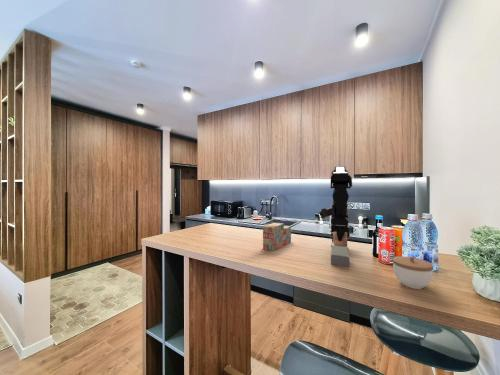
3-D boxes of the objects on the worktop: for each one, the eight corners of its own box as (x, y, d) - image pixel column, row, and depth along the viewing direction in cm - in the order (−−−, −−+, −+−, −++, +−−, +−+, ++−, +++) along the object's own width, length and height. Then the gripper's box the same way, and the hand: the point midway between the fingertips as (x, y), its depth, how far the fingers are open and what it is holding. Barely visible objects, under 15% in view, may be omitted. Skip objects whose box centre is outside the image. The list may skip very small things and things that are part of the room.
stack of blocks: (281, 240, 127) (281, 220, 127) (291, 242, 123) (291, 221, 123) (262, 249, 110) (262, 225, 109) (273, 251, 106) (273, 227, 106)
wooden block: (341, 242, 93) (341, 231, 93) (350, 245, 88) (349, 233, 88) (330, 243, 92) (330, 231, 92) (338, 246, 87) (338, 234, 87)
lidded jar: (407, 292, 65) (408, 262, 65) (385, 277, 76) (385, 251, 76) (442, 292, 65) (442, 262, 65) (415, 277, 76) (415, 251, 76)
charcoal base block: (332, 259, 95) (332, 250, 94) (349, 261, 92) (349, 252, 92) (330, 264, 88) (330, 255, 88) (349, 267, 85) (349, 257, 85)
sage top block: (332, 250, 94) (332, 241, 94) (347, 252, 92) (347, 243, 92) (331, 254, 89) (331, 245, 89) (347, 256, 86) (347, 247, 86)
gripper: (322, 200, 101) (322, 232, 102) (317, 203, 84) (317, 241, 85) (348, 200, 97) (347, 234, 97) (348, 204, 80) (348, 245, 80)
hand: (340, 238), depth 90 cm, fingers open, 9 cm apart
